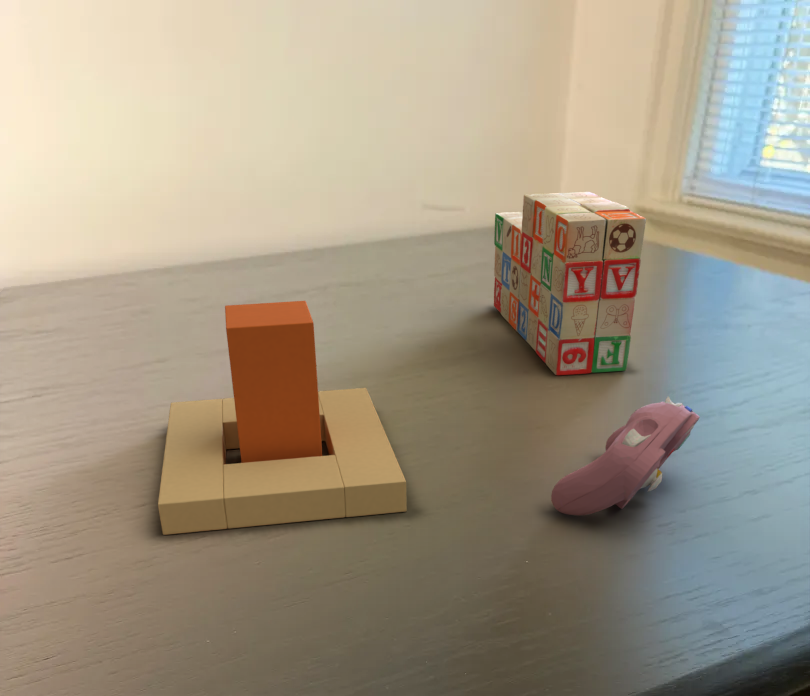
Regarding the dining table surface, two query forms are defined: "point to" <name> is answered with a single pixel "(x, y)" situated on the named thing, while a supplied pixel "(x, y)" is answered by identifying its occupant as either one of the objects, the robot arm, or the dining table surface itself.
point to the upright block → (274, 380)
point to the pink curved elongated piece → (627, 460)
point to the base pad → (276, 469)
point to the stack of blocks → (570, 278)
